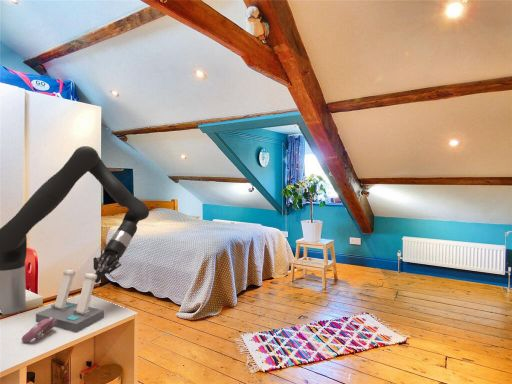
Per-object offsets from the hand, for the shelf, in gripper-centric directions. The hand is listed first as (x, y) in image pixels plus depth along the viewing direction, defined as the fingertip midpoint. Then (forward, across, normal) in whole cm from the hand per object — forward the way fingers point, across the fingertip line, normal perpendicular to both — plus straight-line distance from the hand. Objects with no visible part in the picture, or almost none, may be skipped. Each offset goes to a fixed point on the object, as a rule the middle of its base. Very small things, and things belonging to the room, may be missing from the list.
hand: (94, 281), depth 122 cm
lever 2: (+11, 0, +2) cm, 11 cm away
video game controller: (+23, -4, -3) cm, 23 cm away
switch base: (+14, -5, +5) cm, 16 cm away
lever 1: (+11, -11, +2) cm, 16 cm away
